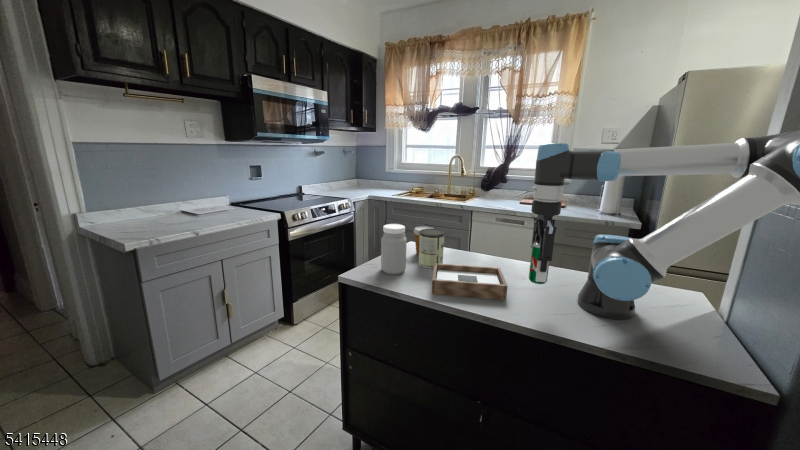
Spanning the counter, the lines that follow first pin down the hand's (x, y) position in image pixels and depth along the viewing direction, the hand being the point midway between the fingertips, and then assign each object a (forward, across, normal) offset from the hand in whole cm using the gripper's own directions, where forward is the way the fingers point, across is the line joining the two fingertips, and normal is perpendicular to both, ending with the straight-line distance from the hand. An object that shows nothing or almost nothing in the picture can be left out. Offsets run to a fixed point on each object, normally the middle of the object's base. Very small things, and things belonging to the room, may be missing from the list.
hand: (538, 277), depth 96 cm
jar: (+10, -23, -48) cm, 54 cm away
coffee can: (+10, -33, -34) cm, 48 cm away
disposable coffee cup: (+10, -45, -38) cm, 60 cm away
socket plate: (+10, -13, -20) cm, 26 cm away
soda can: (+2, 0, 0) cm, 2 cm away
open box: (+10, -13, -20) cm, 26 cm away
